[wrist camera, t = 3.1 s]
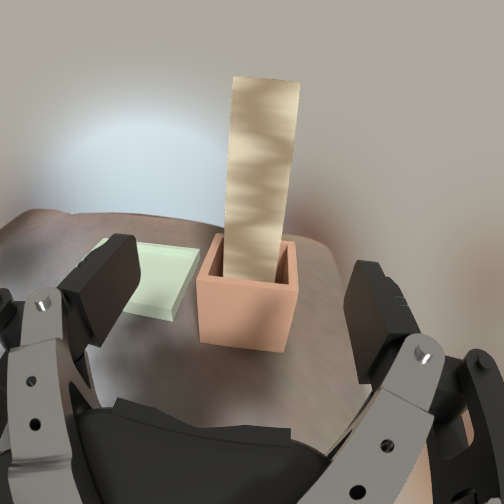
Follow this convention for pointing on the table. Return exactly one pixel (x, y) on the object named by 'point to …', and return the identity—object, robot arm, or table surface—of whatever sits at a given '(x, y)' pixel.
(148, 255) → the tray
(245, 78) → the post
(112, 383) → the table surface
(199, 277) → the salmon pink open box
